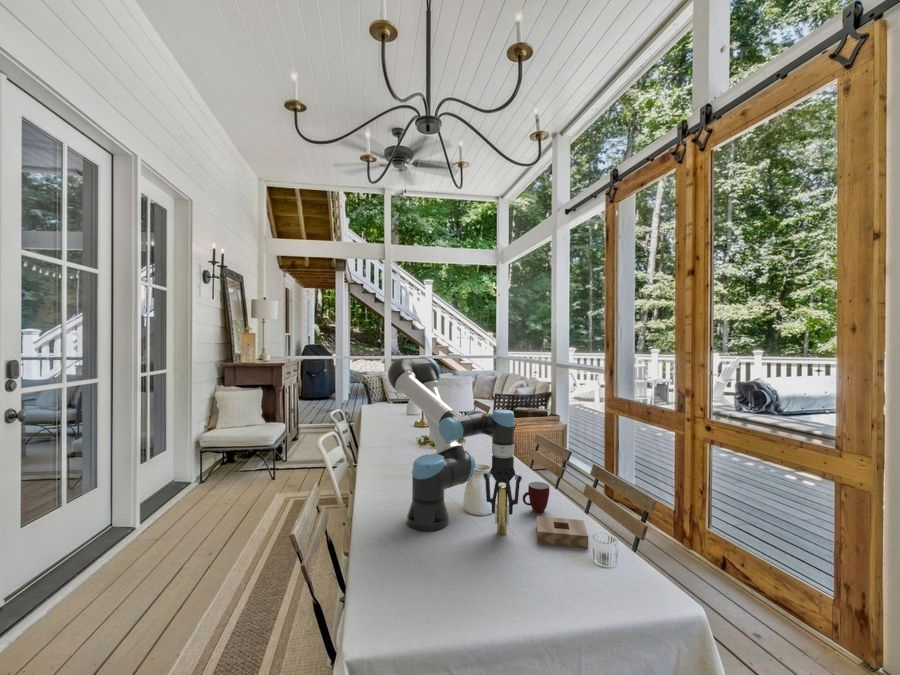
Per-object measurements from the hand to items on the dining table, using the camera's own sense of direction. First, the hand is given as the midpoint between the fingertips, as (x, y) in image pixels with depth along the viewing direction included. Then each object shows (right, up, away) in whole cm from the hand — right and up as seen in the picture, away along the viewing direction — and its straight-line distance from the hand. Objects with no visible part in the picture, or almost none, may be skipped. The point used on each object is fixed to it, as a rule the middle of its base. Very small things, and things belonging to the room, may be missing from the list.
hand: (501, 522), depth 145 cm
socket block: (+20, -4, -3) cm, 20 cm away
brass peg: (0, -4, 0) cm, 4 cm away
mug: (+15, -4, +19) cm, 24 cm away
